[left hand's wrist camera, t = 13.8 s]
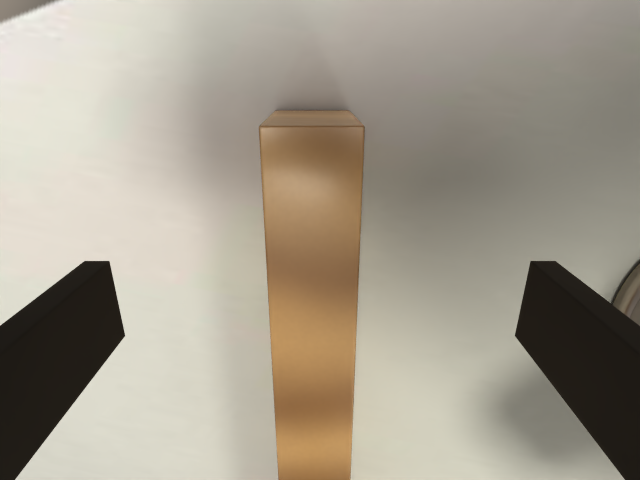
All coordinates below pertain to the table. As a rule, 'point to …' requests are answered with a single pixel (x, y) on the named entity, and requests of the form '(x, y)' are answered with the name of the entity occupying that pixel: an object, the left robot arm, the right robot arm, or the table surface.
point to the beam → (312, 284)
